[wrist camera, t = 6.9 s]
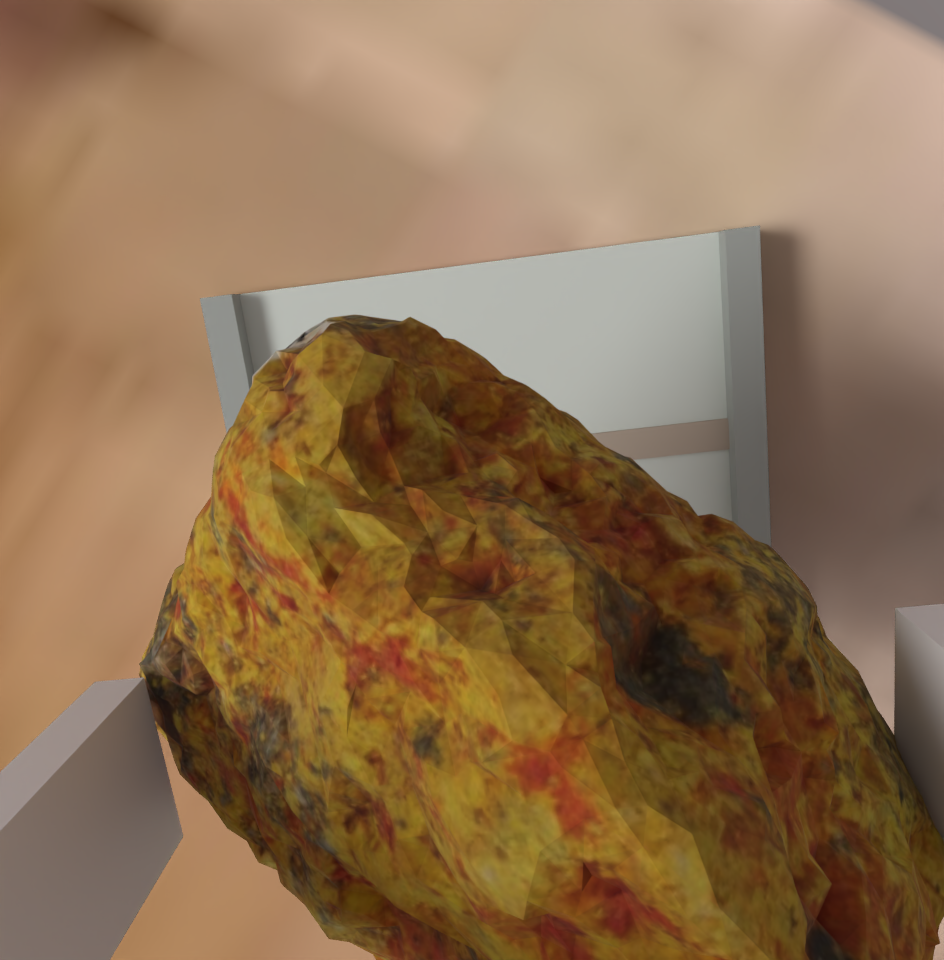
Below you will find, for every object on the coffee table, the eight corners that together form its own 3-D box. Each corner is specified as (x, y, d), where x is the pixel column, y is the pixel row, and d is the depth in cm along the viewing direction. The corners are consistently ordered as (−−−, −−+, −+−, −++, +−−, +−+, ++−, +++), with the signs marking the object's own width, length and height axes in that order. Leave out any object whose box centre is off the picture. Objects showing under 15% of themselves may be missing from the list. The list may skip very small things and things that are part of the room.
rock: (413, 717, 19) (-35, 731, 12) (555, 410, 18) (176, 212, 11) (861, 1123, 12) (450, 1865, 4) (1121, 645, 11) (1169, 544, 4)
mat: (330, 879, 24) (322, 908, 23) (217, 298, 20) (200, 298, 19) (769, 846, 23) (783, 875, 22) (744, 229, 19) (759, 225, 18)
